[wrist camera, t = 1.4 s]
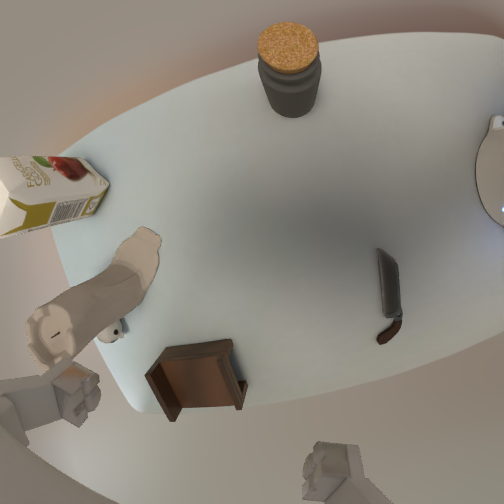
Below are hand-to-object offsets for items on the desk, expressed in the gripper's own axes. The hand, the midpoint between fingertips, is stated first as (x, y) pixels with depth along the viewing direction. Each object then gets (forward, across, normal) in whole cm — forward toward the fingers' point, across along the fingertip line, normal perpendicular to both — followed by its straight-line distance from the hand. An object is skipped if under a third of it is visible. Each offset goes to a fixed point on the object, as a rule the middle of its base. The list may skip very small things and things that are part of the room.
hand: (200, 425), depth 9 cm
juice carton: (+30, +29, -2) cm, 42 cm away
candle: (+30, +18, +8) cm, 36 cm away
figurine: (+30, +21, +18) cm, 41 cm away
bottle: (+30, +2, -19) cm, 35 cm away
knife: (+30, -17, +2) cm, 34 cm away
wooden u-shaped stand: (+30, +5, +21) cm, 37 cm away
